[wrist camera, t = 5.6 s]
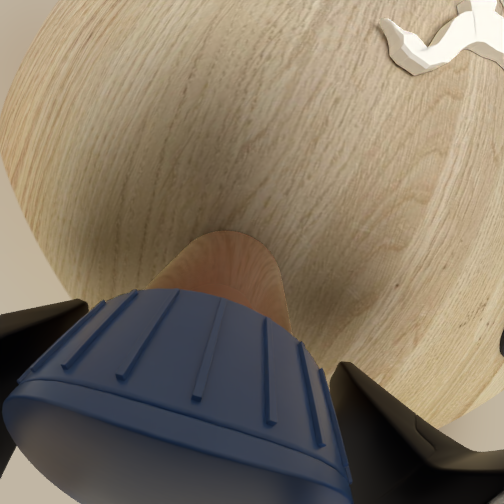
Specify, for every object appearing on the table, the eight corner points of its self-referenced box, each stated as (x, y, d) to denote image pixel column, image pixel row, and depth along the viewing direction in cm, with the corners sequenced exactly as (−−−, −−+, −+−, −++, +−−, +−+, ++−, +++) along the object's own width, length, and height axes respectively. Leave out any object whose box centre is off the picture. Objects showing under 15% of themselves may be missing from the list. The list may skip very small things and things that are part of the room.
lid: (370, 315, 5) (447, 437, 2) (285, 475, 7) (289, 552, 4) (61, 254, 5) (-50, 317, 2) (97, 434, 7) (63, 499, 4)
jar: (295, 312, 14) (337, 515, 4) (201, 340, 15) (144, 519, 4) (259, 213, 13) (253, 371, 2) (157, 252, 14) (1, 395, 3)
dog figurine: (419, -77, 3) (377, 33, 8) (527, 13, 5) (527, 174, 10) (412, -68, 5) (364, 47, 10) (517, 17, 6) (510, 172, 11)
